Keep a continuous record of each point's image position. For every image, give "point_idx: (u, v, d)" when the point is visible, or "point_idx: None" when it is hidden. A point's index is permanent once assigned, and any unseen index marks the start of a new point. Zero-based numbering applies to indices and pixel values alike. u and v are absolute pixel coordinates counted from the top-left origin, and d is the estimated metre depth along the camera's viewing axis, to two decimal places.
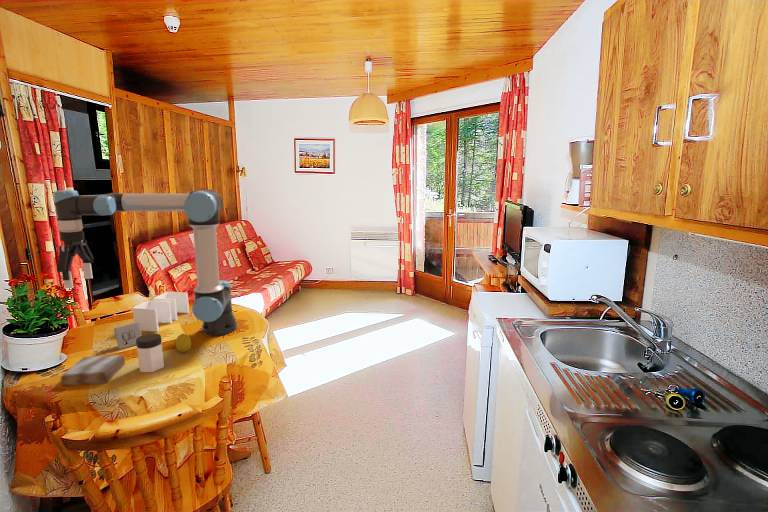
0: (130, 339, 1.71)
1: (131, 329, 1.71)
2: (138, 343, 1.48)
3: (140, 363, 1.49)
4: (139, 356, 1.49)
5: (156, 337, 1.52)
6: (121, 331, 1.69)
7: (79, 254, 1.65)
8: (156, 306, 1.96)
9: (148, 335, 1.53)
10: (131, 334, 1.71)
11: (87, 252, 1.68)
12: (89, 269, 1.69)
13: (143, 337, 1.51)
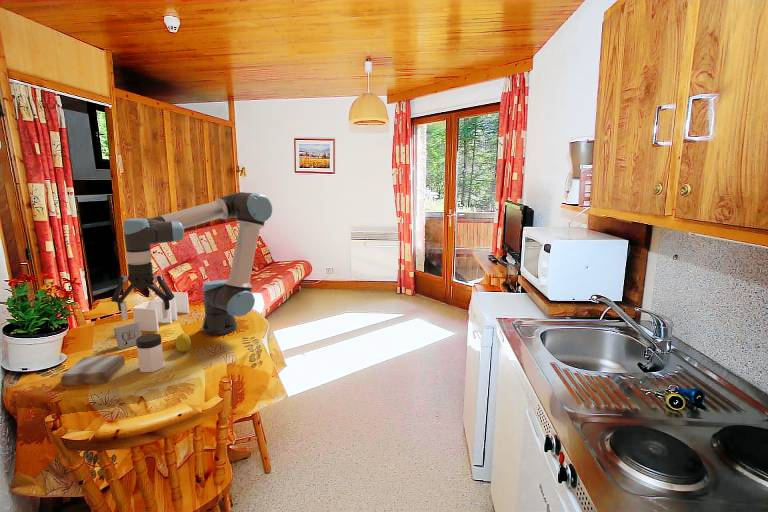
0: (130, 339, 1.71)
1: (131, 329, 1.71)
2: (138, 343, 1.48)
3: (140, 363, 1.49)
4: (139, 356, 1.49)
5: (156, 337, 1.52)
6: (121, 331, 1.69)
7: None
8: (156, 306, 1.96)
9: (148, 335, 1.53)
10: (131, 334, 1.71)
11: None
12: None
13: (143, 337, 1.51)
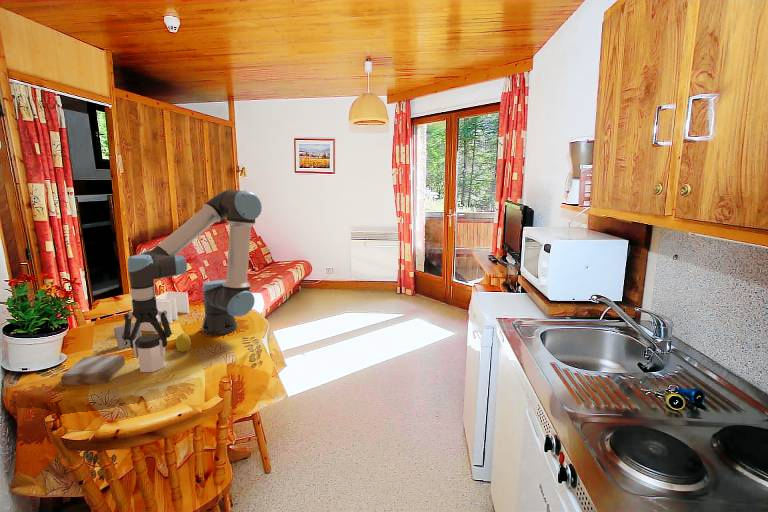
0: None
1: (131, 329, 1.71)
2: (138, 343, 1.48)
3: (140, 363, 1.49)
4: (139, 356, 1.49)
5: (156, 337, 1.52)
6: (121, 331, 1.69)
7: None
8: None
9: (148, 335, 1.53)
10: None
11: None
12: None
13: (143, 337, 1.51)
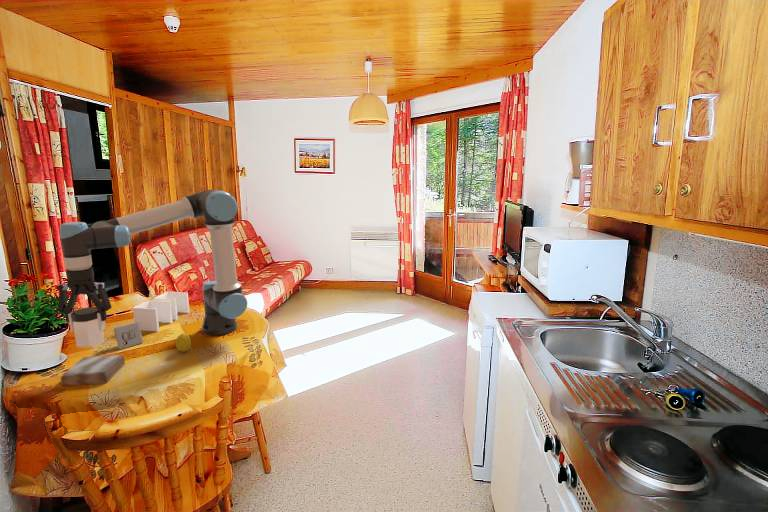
0: (130, 339, 1.71)
1: (131, 329, 1.71)
2: (73, 316, 1.39)
3: (76, 338, 1.41)
4: (75, 330, 1.40)
5: (94, 310, 1.43)
6: (121, 331, 1.69)
7: None
8: (156, 305, 1.96)
9: (86, 308, 1.45)
10: (131, 334, 1.71)
11: None
12: None
13: (80, 310, 1.43)
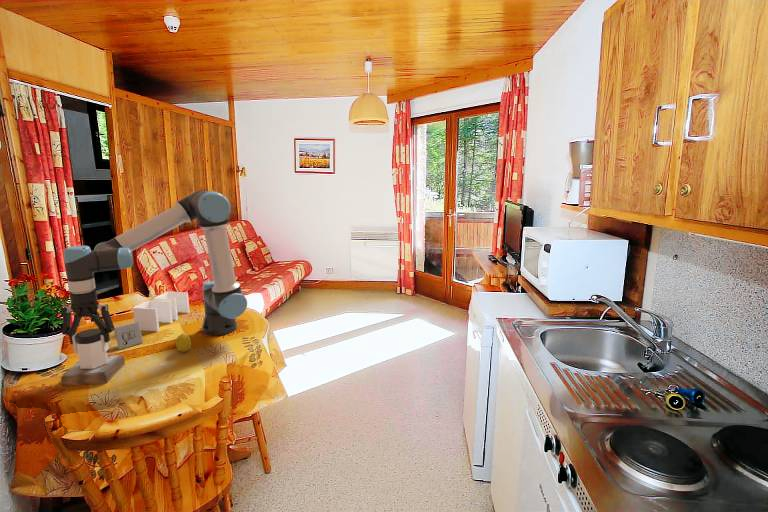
0: (130, 339, 1.71)
1: (131, 329, 1.71)
2: (77, 338, 1.41)
3: (79, 360, 1.43)
4: (79, 352, 1.42)
5: (98, 332, 1.45)
6: (121, 331, 1.69)
7: None
8: (156, 305, 1.96)
9: (90, 330, 1.46)
10: (131, 334, 1.71)
11: None
12: None
13: (84, 332, 1.44)
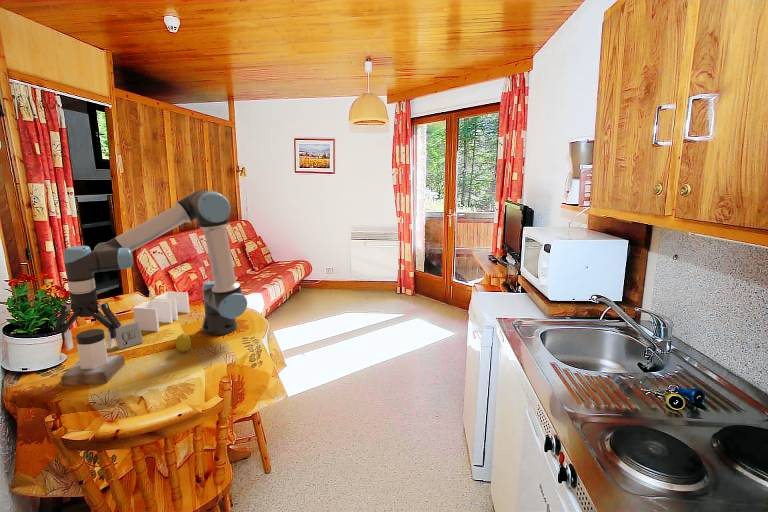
0: (130, 339, 1.71)
1: (131, 329, 1.71)
2: (78, 339, 1.41)
3: (80, 360, 1.43)
4: (79, 352, 1.42)
5: (98, 332, 1.45)
6: (121, 331, 1.69)
7: None
8: (156, 305, 1.96)
9: (90, 330, 1.47)
10: (131, 334, 1.71)
11: None
12: None
13: (84, 333, 1.44)
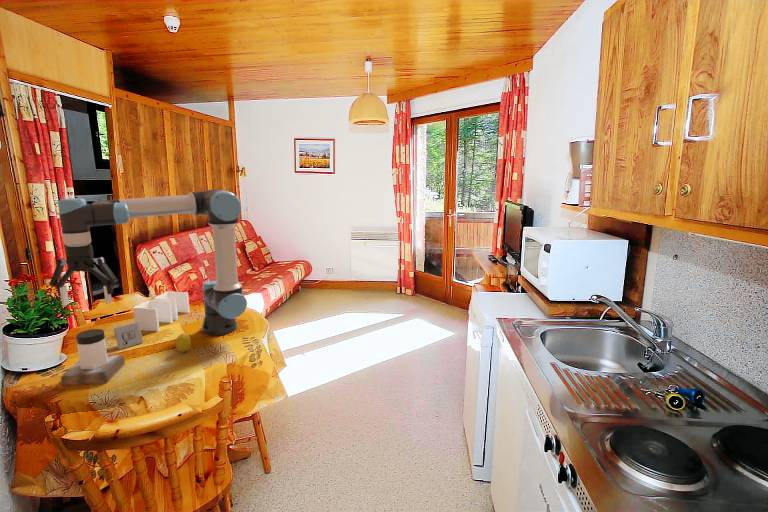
0: (130, 339, 1.71)
1: (131, 329, 1.71)
2: (78, 339, 1.41)
3: (80, 360, 1.43)
4: (79, 352, 1.42)
5: (98, 332, 1.45)
6: (121, 331, 1.69)
7: None
8: (156, 305, 1.96)
9: (90, 330, 1.47)
10: (131, 334, 1.71)
11: None
12: None
13: (84, 333, 1.44)
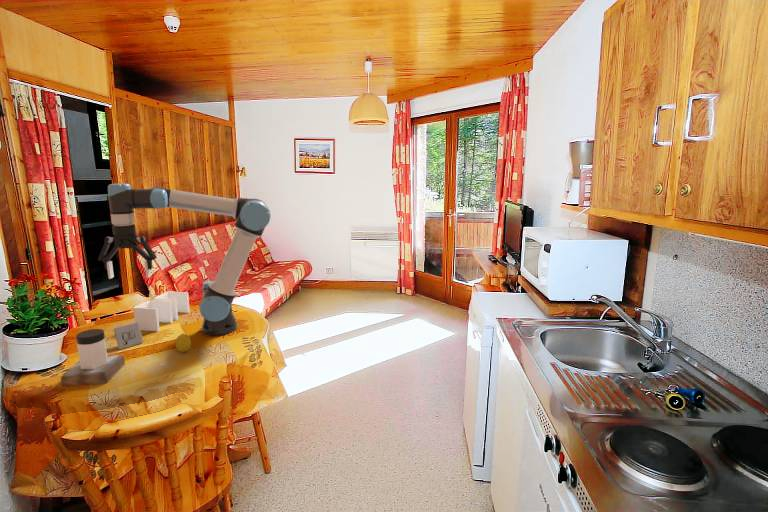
0: (130, 339, 1.71)
1: (131, 329, 1.71)
2: (78, 339, 1.41)
3: (80, 360, 1.43)
4: (79, 352, 1.42)
5: (98, 332, 1.45)
6: (121, 331, 1.69)
7: None
8: (157, 305, 1.96)
9: (90, 330, 1.47)
10: (131, 334, 1.71)
11: None
12: None
13: (84, 333, 1.44)
